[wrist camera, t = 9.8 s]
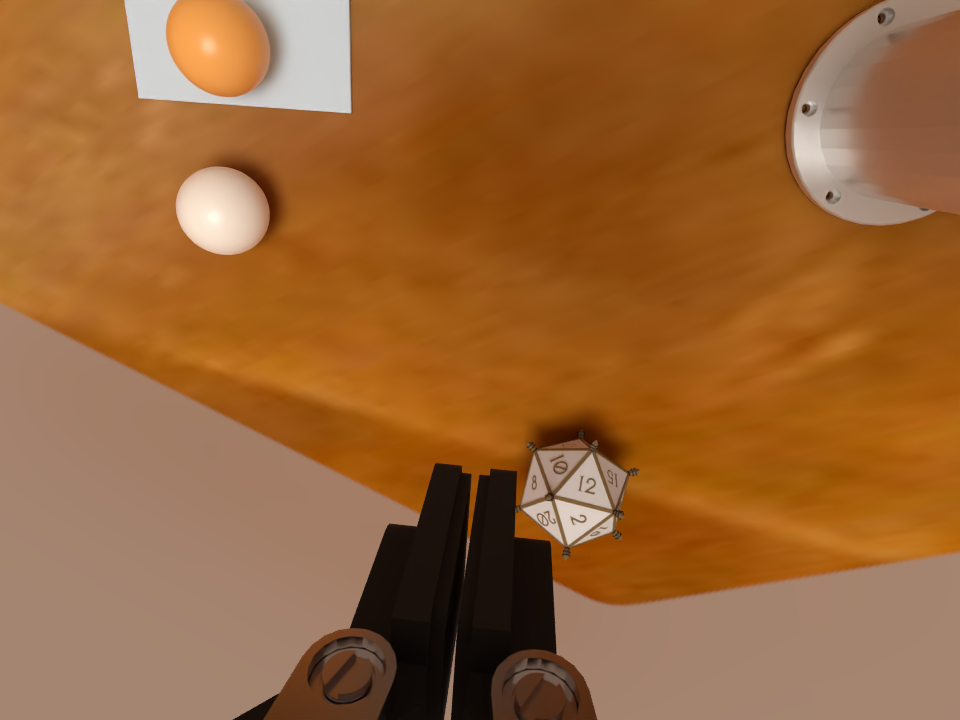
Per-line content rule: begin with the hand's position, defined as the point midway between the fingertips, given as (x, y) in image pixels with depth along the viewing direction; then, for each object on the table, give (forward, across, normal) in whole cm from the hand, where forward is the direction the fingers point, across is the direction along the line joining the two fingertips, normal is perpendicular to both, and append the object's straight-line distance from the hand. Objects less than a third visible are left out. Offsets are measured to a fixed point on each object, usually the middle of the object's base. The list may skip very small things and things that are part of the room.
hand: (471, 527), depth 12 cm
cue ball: (+26, +19, -2) cm, 32 cm away
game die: (+29, -6, +16) cm, 34 cm away
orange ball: (+26, +18, -11) cm, 34 cm away
